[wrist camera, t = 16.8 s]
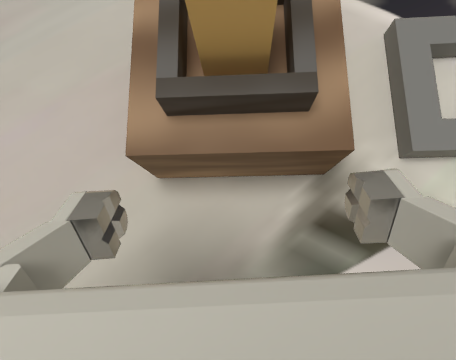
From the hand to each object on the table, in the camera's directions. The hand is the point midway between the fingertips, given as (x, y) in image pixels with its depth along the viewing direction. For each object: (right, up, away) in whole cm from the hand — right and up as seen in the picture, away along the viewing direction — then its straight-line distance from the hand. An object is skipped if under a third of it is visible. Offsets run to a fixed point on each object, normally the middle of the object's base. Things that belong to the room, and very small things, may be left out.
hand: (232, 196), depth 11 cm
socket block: (+1, +8, +16) cm, 17 cm away
